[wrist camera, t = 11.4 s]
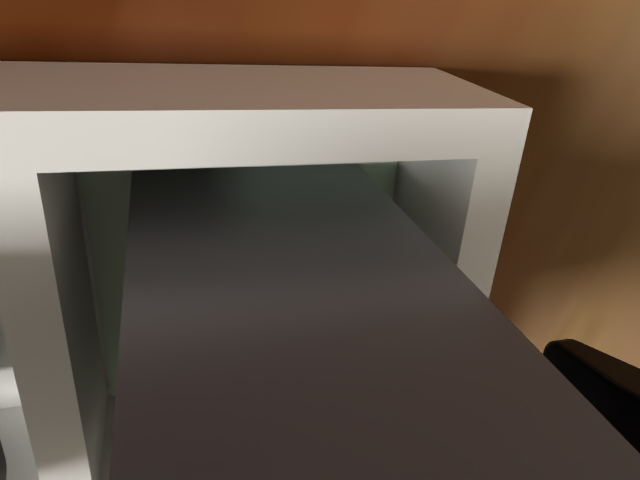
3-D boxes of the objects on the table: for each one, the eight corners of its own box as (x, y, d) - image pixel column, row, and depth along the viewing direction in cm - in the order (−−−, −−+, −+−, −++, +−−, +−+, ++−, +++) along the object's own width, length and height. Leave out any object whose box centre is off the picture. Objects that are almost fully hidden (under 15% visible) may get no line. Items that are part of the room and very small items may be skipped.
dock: (390, 367, 15) (449, 469, 12) (-306, 463, 11) (-470, 649, 8) (434, 67, 12) (532, 108, 9) (-564, 52, 8) (-1018, 116, 5)
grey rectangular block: (340, 337, 13) (540, 743, 7) (150, 360, 12) (152, 879, 5) (356, 163, 11) (669, 484, 5) (131, 170, 10) (99, 613, 3)
